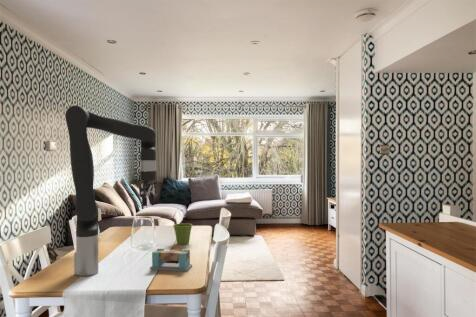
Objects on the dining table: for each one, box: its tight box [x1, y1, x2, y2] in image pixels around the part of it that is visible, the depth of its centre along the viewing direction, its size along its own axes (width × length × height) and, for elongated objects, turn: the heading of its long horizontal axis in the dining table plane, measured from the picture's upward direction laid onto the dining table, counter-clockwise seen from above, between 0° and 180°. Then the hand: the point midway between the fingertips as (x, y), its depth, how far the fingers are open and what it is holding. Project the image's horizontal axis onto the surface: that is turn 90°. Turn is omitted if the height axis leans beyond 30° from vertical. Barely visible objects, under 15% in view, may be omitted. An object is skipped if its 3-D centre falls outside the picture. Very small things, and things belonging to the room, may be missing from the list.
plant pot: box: [172, 222, 193, 246], centre depth 220 cm, size 12×12×11 cm
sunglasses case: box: [164, 248, 184, 264], centre depth 186 cm, size 18×7×7 cm, turn 1°
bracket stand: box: [149, 248, 193, 272], centre depth 171 cm, size 18×8×8 cm, turn 81°
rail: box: [154, 249, 189, 261], centre depth 171 cm, size 16×4×4 cm, turn 82°
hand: (148, 204), depth 170 cm, fingers open, 8 cm apart
